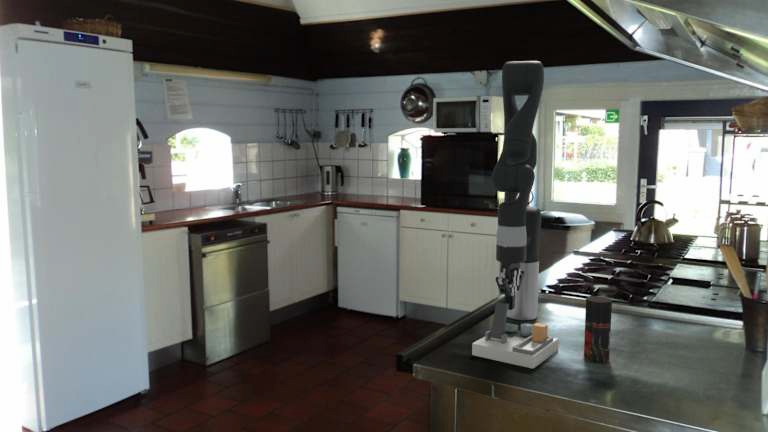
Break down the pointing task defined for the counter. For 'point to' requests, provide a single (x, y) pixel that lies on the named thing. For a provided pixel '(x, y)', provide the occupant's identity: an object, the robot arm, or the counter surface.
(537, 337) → the slider knob
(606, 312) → the deodorant
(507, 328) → the block
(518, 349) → the panel
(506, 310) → the paddle lever
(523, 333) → the push button
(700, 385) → the counter surface
